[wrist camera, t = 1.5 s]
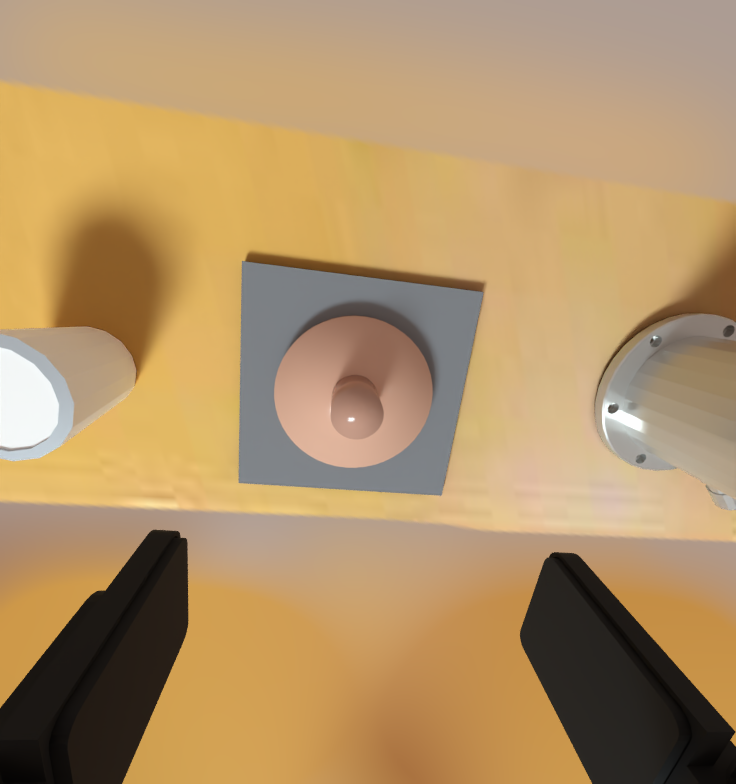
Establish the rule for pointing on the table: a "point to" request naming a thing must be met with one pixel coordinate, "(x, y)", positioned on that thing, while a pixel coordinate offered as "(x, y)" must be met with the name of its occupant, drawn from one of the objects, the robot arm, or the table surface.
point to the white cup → (57, 385)
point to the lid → (353, 391)
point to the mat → (330, 300)
